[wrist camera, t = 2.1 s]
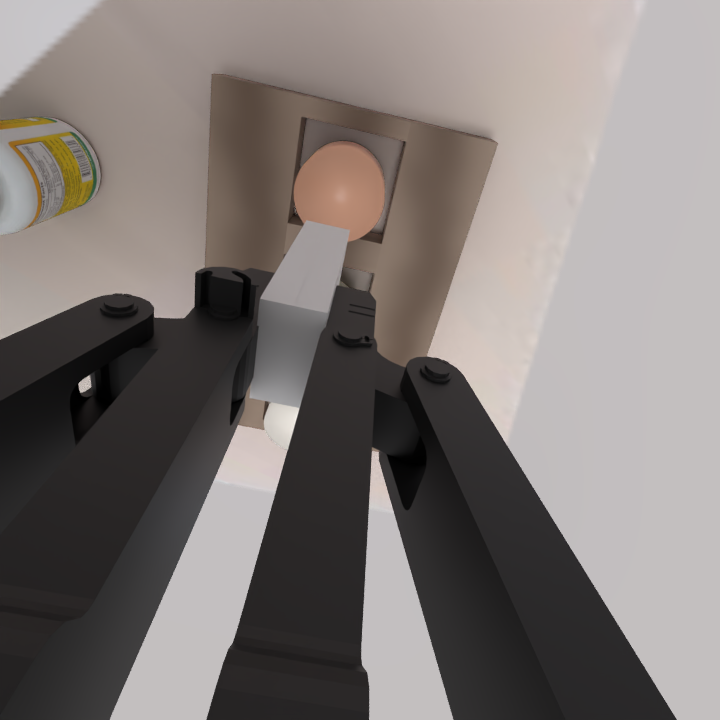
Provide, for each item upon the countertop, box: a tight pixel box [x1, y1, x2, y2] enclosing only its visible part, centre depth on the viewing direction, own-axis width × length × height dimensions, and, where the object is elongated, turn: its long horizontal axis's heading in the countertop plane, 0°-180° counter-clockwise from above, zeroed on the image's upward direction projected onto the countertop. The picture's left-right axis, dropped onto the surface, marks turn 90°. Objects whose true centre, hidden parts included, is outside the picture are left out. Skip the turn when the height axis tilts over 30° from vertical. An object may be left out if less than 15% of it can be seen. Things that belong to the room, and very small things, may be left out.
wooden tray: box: [205, 74, 498, 452], centre depth 32 cm, size 16×24×2 cm, turn 168°
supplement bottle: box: [0, 117, 101, 235], centre depth 25 cm, size 5×5×10 cm
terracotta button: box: [294, 141, 385, 242], centre depth 26 cm, size 5×5×3 cm
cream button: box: [264, 402, 299, 450], centre depth 34 cm, size 5×5×3 cm
